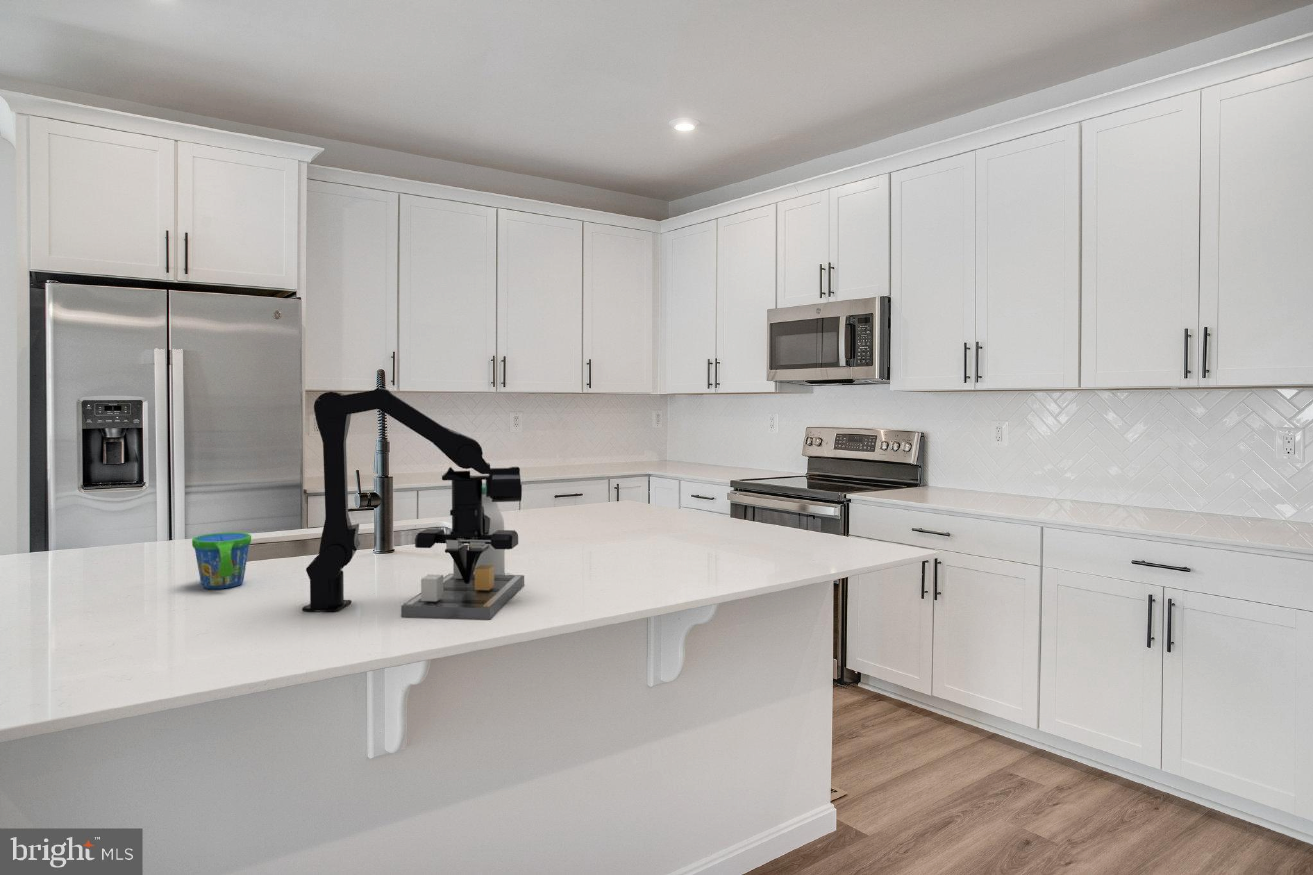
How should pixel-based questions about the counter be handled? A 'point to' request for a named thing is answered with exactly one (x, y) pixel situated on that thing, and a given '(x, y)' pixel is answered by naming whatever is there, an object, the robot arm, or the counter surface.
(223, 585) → the snack cup
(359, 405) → the robot arm
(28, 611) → the counter surface
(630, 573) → the counter surface
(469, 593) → the panel
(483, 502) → the milk bottle
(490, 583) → the orange block
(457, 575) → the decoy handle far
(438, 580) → the grey small block
